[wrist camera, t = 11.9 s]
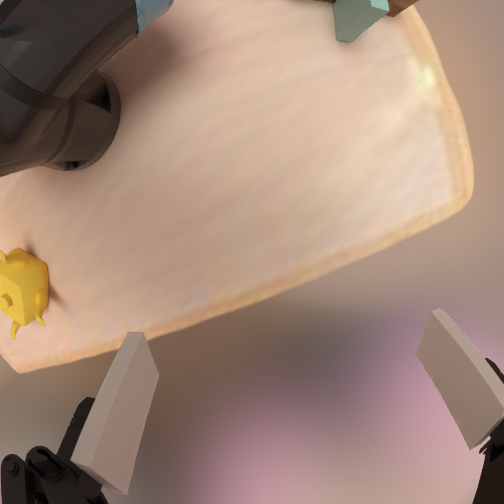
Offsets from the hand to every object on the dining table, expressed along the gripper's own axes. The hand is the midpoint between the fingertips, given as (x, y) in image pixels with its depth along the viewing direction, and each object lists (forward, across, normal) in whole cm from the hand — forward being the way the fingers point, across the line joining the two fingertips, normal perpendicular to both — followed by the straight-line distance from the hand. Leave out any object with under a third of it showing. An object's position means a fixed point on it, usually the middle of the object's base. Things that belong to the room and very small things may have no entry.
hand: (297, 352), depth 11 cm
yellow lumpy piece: (+27, -44, -10) cm, 53 cm away
